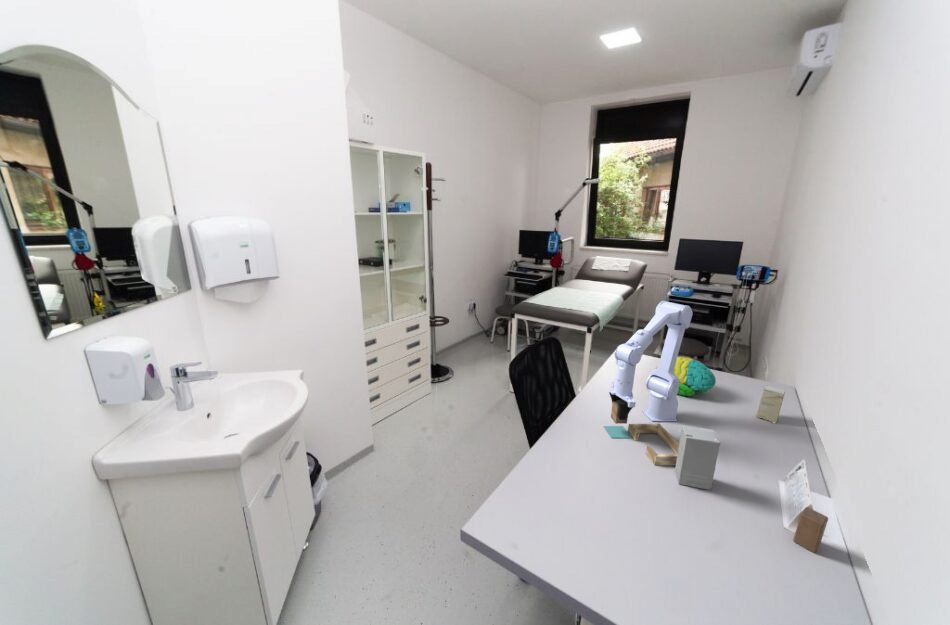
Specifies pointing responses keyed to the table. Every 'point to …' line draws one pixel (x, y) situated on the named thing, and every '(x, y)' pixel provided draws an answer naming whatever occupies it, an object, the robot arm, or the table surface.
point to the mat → (617, 432)
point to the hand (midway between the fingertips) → (619, 415)
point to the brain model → (693, 376)
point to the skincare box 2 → (770, 403)
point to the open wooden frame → (653, 456)
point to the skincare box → (697, 457)
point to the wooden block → (810, 529)
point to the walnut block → (617, 414)
